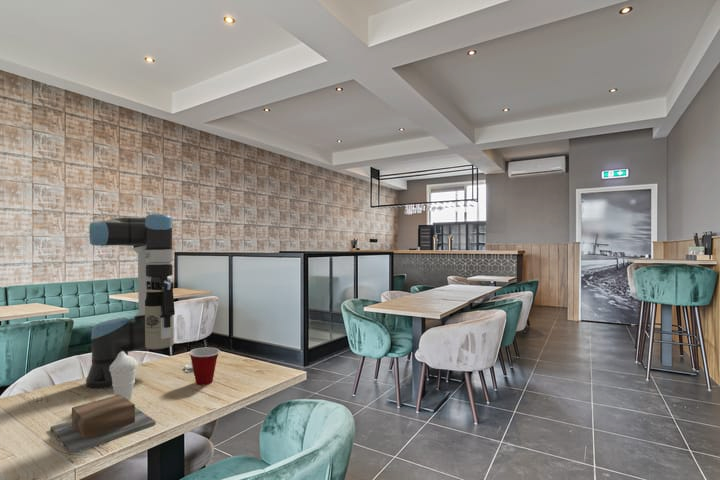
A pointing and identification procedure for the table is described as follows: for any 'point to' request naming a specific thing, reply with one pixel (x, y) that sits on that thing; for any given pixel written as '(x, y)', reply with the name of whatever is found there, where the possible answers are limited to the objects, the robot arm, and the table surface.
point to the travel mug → (155, 322)
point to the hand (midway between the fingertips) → (159, 335)
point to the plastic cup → (204, 364)
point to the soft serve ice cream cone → (123, 375)
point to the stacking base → (100, 438)
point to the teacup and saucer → (188, 367)
